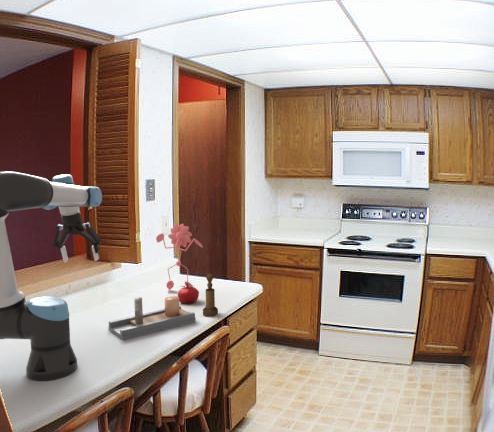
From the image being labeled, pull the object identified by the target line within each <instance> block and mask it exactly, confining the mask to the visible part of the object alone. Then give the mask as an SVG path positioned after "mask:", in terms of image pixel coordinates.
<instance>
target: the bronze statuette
mask: <svg viewBox="0 0 494 432" xmlns="http://www.w3.org/2000/svg"><path fill="white" fill-rule="evenodd" d="M205 277H206V280H207V284H206V285H207V288H206V289H205V307H203V309H202V316H204V317H206V318H207V317H209V318H210V317H216V316H218V315H219V308H218V307H216V304H215V302H216V300H215V288H213V283H212V281H213V279H214V275H213V274H212V273H208V274H206V276H205Z"/></svg>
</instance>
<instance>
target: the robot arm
mask: <svg viewBox="0 0 494 432" xmlns="http://www.w3.org/2000/svg"><path fill="white" fill-rule="evenodd" d="M102 200H103V194H102V190H101V188H100V187H98V186H93V185H92V186H91V185H90V186H83V185H76V184H75V182H74V180H73V175H71V174H70V173H69V174H67V173H66V174H59V175H55V176H53V177H52V180H51V181H49V180H48V179H47V178H46V177H42V176H36V175H31V174H28V173H22V172H17V171H0V340H30V354H29V357H28V360H27V364H26V366H25V371H26V377H27V378H28V379H30V380H33V381H42V382H43V381H51V380H56V379H61V378H64V377H66V376H69V375H70V374H72V373H74V372H75V371H76V370H77V369H78V358H77V356H76V354H75V351H74V349H73V347H72V344H71V332H70V330H71V329H70V328H71V327H70V310H69V305H68V302H67V301H66V300H65V299H63V298H61V297H58V296H53V295H50V296H49V295H45V296H41V295H40V296H36V297H32V298H31V299H29V300H28V301H26V296H25V293H24V292H23V291H21V290H19V289H18V282H17V279H16V273H15V268H14V267H15V266H14V263H13V257H12V251H11V246H10V243H9V237H8V232H7V226H6V222H5V220H6V219H7V217H8V216H9V212H16V211H24V210H30V209H44V210H47V211H49V210H53V209H56V208H57V207H58V210H59V214H60V218H61V222H62V224H61V223H58V224H57V225H56V226H55V228H56V229H55V230H56V232H55V235H54V236H55V237H54V239H53V240H54V241H53V244H52V247H53V248H57V249H58V252H59V255H60V256H62V260H63V263H64V264H66V263H67V262H68V261H69V257H68V251H67V248H66V246H65V242H67V239H68V238H69V236H77V235H79V236H81V237H83V238H84V239H85V240H86V241H87V242H88V243H89V244H91V245H92V246H91V251H92V255H93V259H94V262H97V261H98V260H100V255H99V252H100V248H99V245H100V244H102V242H103V241H102V238H100V236H99V235H98V233H97V232H96V230H94V228H93V227H92V225H91V222H90V221H87V222H86V223H84V222H83V219H82V218H83V217H82V213H81V211H80V207H83V208H87V207H88V208H89V207H90V208H95V207H99V206H100V205H101V203H102ZM63 230H65V233H64V234H63V236H62V233H63ZM61 237H62V238H61Z"/></svg>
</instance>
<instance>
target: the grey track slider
mask: <svg viewBox="0 0 494 432" xmlns="http://www.w3.org/2000/svg"><path fill="white" fill-rule="evenodd" d="M133 299H134V316H135V320H130V323H131V324H132V325H134V326H138V325H142V324H146V323H150V322H155V321H159V320H163V319H167V318H171V317H167V316H165V313H161V314H156V315H152V316H148V317H143V314H144V313H143V297H142V296H138V297H137V296H136V297H134V298H133ZM188 313H191V312H189V311H187V310H185V309H183V308H181V309H180V315H184V314H188ZM180 315H179V316H180Z"/></svg>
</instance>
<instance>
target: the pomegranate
mask: <svg viewBox="0 0 494 432" xmlns="http://www.w3.org/2000/svg"><path fill="white" fill-rule="evenodd" d="M186 285H187V287H185V286H186ZM186 285H180V287H182V288H180V289H179V290H178V292H177V297H179V303H181V304H193V303H194V304H195V303H196V302H197V301H198V300H199V296H200V292H199V290H198V289H197V288H196V287H194V286H195V285H193V284H192V286H193V287H191V286H190V287H188V283H186Z"/></svg>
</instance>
